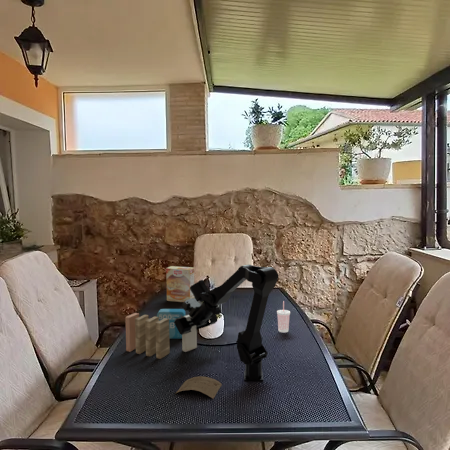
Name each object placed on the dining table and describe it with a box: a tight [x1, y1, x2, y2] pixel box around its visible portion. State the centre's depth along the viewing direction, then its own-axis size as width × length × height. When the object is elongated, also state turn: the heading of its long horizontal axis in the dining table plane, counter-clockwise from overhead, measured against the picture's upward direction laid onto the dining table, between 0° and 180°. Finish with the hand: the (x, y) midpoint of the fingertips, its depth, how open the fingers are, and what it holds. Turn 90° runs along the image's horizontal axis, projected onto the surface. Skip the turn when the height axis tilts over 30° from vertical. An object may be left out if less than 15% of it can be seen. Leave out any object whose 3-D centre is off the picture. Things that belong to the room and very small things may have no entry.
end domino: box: [124, 312, 140, 353], centre depth 160 cm, size 2×6×14 cm, turn 152°
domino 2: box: [145, 315, 159, 357], centre depth 155 cm, size 2×6×14 cm, turn 152°
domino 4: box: [181, 314, 198, 353], centre depth 159 cm, size 2×6×14 cm, turn 135°
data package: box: [156, 308, 187, 340], centre depth 172 cm, size 12×4×12 cm, turn 89°
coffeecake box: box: [165, 265, 195, 303], centre depth 229 cm, size 15×7×20 cm, turn 73°
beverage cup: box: [276, 300, 291, 333], centre depth 179 cm, size 6×6×14 cm
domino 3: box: [155, 318, 171, 360], centre depth 153 cm, size 2×6×14 cm, turn 153°
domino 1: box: [135, 314, 150, 355], centre depth 157 cm, size 2×6×14 cm, turn 153°
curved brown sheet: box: [174, 375, 223, 400], centre depth 127 cm, size 14×10×3 cm
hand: (187, 331), depth 160 cm, fingers closed on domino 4, 6 cm apart
